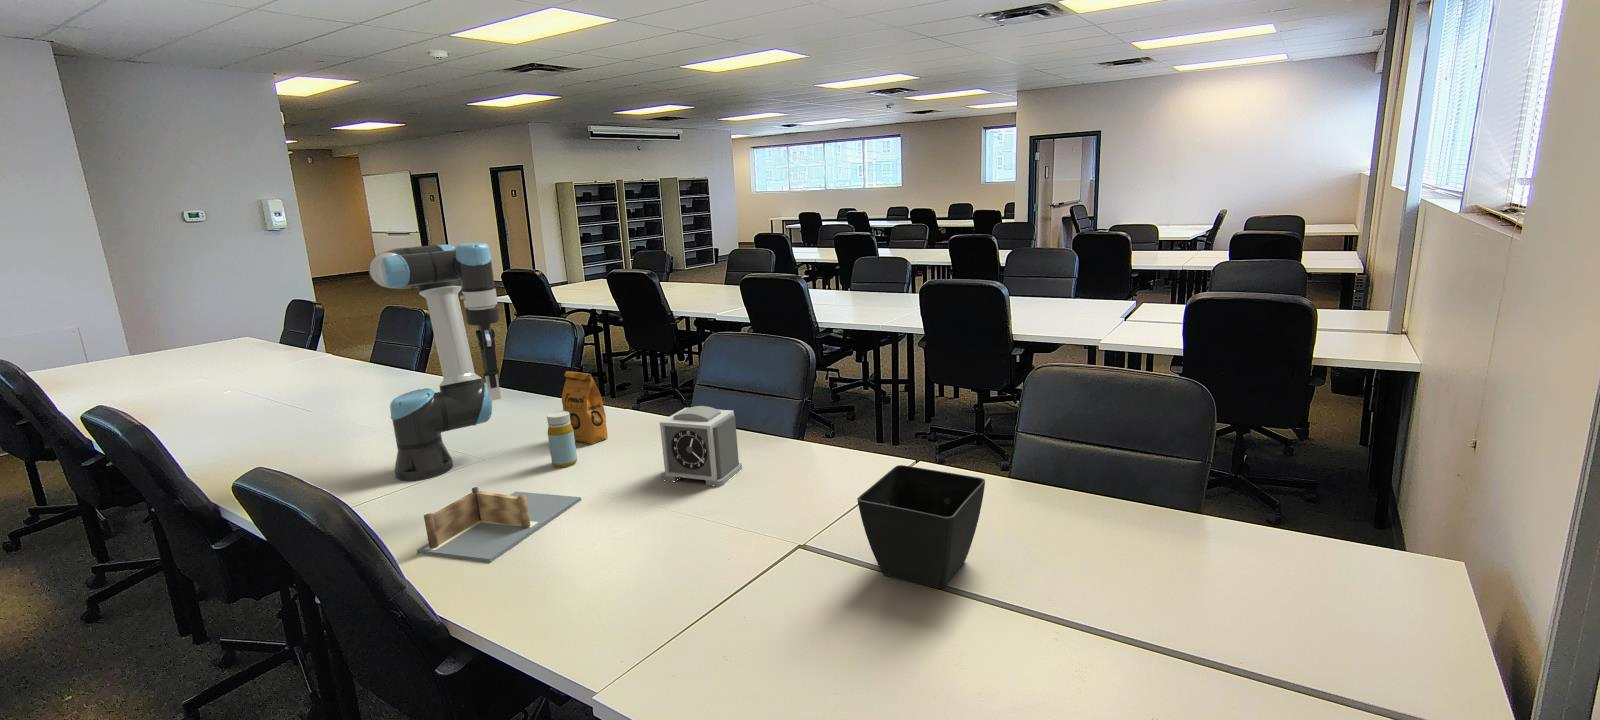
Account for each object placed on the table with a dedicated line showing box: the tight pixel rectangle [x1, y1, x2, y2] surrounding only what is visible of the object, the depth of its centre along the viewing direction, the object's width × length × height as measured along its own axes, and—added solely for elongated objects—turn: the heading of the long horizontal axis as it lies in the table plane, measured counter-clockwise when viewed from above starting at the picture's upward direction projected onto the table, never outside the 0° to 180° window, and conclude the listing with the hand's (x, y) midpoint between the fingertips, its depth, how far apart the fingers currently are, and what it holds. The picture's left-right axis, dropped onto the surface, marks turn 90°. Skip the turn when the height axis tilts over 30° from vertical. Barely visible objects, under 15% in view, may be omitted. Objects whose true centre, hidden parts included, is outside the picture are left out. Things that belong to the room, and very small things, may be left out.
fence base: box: [423, 486, 481, 549], centre depth 173 cm, size 16×2×8 cm, turn 161°
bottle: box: [546, 410, 578, 468], centre depth 216 cm, size 7×7×15 cm
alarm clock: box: [659, 405, 743, 487], centre depth 201 cm, size 18×13×18 cm
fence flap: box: [477, 490, 530, 528], centre depth 176 cm, size 14×2×7 cm, turn 66°
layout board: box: [416, 491, 582, 564], centre depth 179 cm, size 33×20×1 cm, turn 161°
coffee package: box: [560, 370, 609, 445], centre depth 236 cm, size 10×12×22 cm
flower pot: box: [856, 464, 986, 590], centre depth 145 cm, size 19×19×17 cm
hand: (494, 398), depth 190 cm, fingers closed
